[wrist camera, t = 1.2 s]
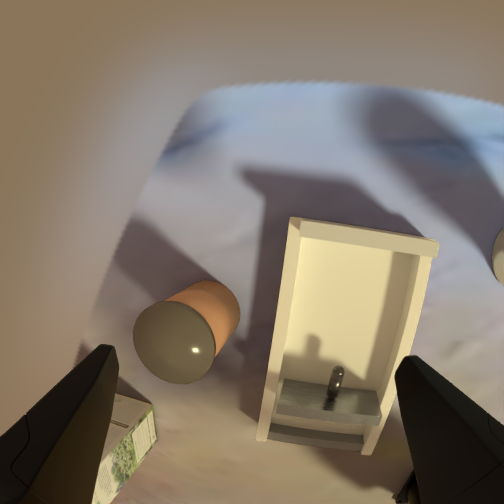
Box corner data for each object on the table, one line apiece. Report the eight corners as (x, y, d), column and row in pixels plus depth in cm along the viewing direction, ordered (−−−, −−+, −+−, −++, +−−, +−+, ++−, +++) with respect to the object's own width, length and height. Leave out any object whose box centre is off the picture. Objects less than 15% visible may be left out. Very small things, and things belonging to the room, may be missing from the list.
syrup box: (110, 390, 32) (27, 458, 18) (155, 403, 31) (77, 488, 17) (117, 427, 33) (47, 497, 19) (160, 441, 31) (96, 524, 17)
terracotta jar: (238, 347, 28) (209, 393, 20) (177, 334, 29) (133, 371, 21) (245, 285, 27) (215, 314, 19) (181, 273, 28) (133, 295, 20)
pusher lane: (369, 439, 26) (374, 480, 21) (260, 424, 28) (247, 464, 23) (424, 237, 23) (452, 244, 18) (292, 216, 25) (284, 217, 20)
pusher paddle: (372, 399, 25) (378, 426, 21) (282, 387, 26) (275, 413, 23) (385, 360, 24) (394, 383, 20) (289, 347, 26) (284, 369, 22)
